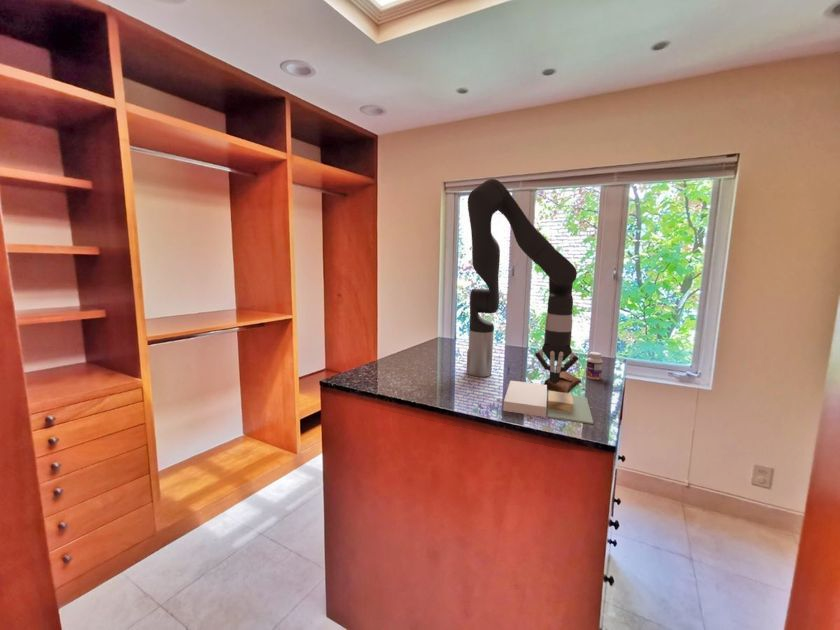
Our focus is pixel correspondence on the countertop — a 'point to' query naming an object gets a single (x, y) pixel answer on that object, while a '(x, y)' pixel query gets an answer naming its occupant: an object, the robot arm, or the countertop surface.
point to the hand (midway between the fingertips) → (554, 383)
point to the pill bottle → (594, 366)
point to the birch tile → (560, 401)
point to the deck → (526, 398)
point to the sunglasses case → (563, 382)
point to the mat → (574, 411)
